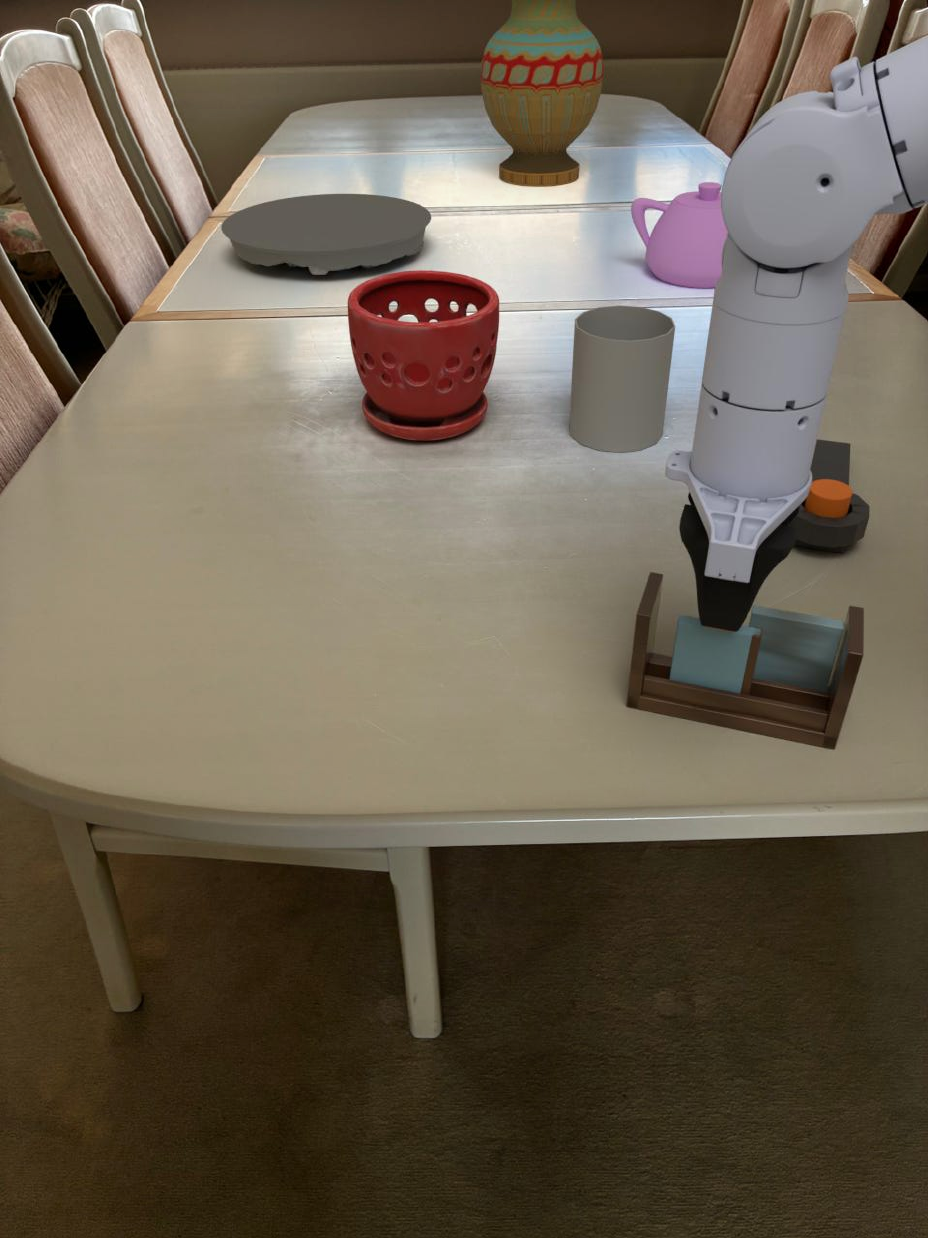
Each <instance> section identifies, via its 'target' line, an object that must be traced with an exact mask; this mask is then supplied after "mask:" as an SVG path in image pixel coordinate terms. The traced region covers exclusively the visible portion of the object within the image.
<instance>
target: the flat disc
mask: <svg viewBox="0 0 928 1238" xmlns="http://www.w3.org/2000/svg"><path fill="white" fill-rule="evenodd" d="M431 221H432V213H431V212H430V211H429V210H428V209H427V208H426V207H424V206H423V205H421V204H419V203H416V202H413V201H410V200H407V199H403V198H398V197H394V196H389V195H388V196H387V195H380V194H379V195H378V194H367V193H324V194H323V193H321V194H309V195H300V196H299V195H298V196H292V197H285V198H281V199H274V200H269V201H266V202H261V203H258V204H253V205H252V206H248V207H246V208H243V209H240V210H238V211H236V212H233V213H232V214H230V215H229V216H228V217H226V218H225V219H224V220H223V221H222V223H221V226H220V227H221V228H220V229H221V232H222V233H223V235H225V237H227V238H228V239H229V241H230V243H231V247H232V248H233V251H234V252H235V254H236V255H237V256H238V257H239V258H240V259H242V261H245V262H248V263H249V264H251V265H256V266H258V265H262V266H264V267H272V266H277V265H281V264H284V263H285V264H287V266H289V267H291V268H297V267H301V268H308V270H309V272H310V274H311V275H313V276H314V275H316V276H318V275H320V276H321V275H322V276H324V275H325V276H326V275H328V273H329V272H330V271H331V272H335V271H339V272H341V271H345V270H350V269H352V268H357V267H362V268H364V269H367V270H371V269H373V268H375V267H378V266H379V265H386V264H388V263H391V262H392V261H393V260H394V261H395V260H396V259H400V258H403V257H405V256H406V257H409V256H411V255H413V256H414V255H416V254H417V253H418V252H420V251H421V250H422V248H423V246H424V237H425V233H426V229H427V227H428V225H430V223H431Z"/></svg>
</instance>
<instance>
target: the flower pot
mask: <svg viewBox="0 0 928 1238" xmlns="http://www.w3.org/2000/svg"><path fill="white" fill-rule="evenodd" d="M428 300H434V301H436V302H437V306H438V307H437V309H436V310H435V311H430V310H428V309H427V308H426V307H427V306H426V303H427V301H428ZM393 302H396V305H397V306H396V308H395V310H394V311H391V310H390V305H391V304H392V303H393ZM452 302H454V303H456V305H457V310H456V311H454V310H453V309H452V308H451V303H452ZM469 305H473V306H474V307H475V309H476V312H473V313H470V314H469V315H467V310H468V306H469ZM379 315H380V316H379ZM406 315H410V316H411V315H412V316H413V317H414V318H415V319H416V320H417V321H404V320H399V319H400V318H401V317H403V316H406ZM433 320H434V321H433ZM347 322H348V331H349V339H350V340H349V341H350V346H351V351H352V356H353V360H354V365H355V368H356V371H357V374H358V377H359V379H360V382H361V384H362V387H364V389H365V393H364V395H363V397H362V399H361V400H362V401H361V408H362V412H363V415H364V416H365V418H366V420H367V421H368V422H369V423H370V424H371V425H372V426H373V427H374V428H376V429H377V430H378V431H380V432H382V433H385V434H387V435H389V436H392V437H395V438H399V439H404V440H410V441H424V442H425V441H437V440H438V441H439V440H444V439H449V438H453V437H456V436H460V435H462V434H464V433H466V432H468V431H470V430H471V429H473V428H474V427H476V426H477V425H478V424H479V423H480V422H481V421H482V420H483V419H484V417H485V416H486V413H487V411H488V408H489V407H488V406H489V403H488V402H489V401H488V398H487V395H486V393H485V392H484V391H485V389H486V387H487V385H488V382H489V381H490V378H491V374H492V371H493V368H494V364H495V359H496V355H497V349H498V348H497V346H498V345H497V344H498V339H499V338H498V336H499V330H500V297H499V295H498V293H497V291H496V290H495V289H494V287H492V286H491V285H490V284H489V283H487V282H485V281H483V280H481V279H479V278H476V277H473V276H469V275H467V274H462V273H458V272H457V273H456V272H450V271H442V270H441V271H440V270H423V269H422V270H404V271H403V270H402V271H397V272H391V273H386V274H383V275H379V276H376V277H373V278H369V279H367V280H366V281H363V282H362V283H360V284H358V285H357V286H356V287H354V288H353V289H352V290H351V292H349V295H348V297H347Z"/></svg>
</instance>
